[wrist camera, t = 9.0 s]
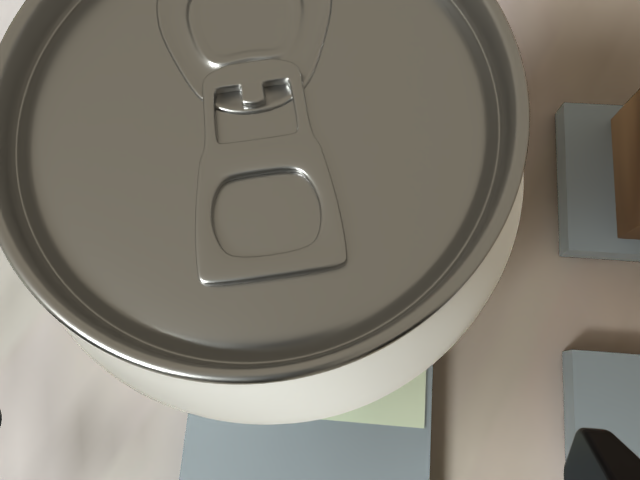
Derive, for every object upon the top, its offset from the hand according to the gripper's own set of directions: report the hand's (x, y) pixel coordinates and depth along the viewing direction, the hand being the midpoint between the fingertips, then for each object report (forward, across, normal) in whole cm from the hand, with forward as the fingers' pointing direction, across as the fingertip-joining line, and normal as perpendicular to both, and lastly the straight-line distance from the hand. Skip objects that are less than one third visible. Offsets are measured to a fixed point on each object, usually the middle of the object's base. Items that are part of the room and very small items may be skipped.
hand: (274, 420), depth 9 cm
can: (+8, 0, +3) cm, 9 cm away
